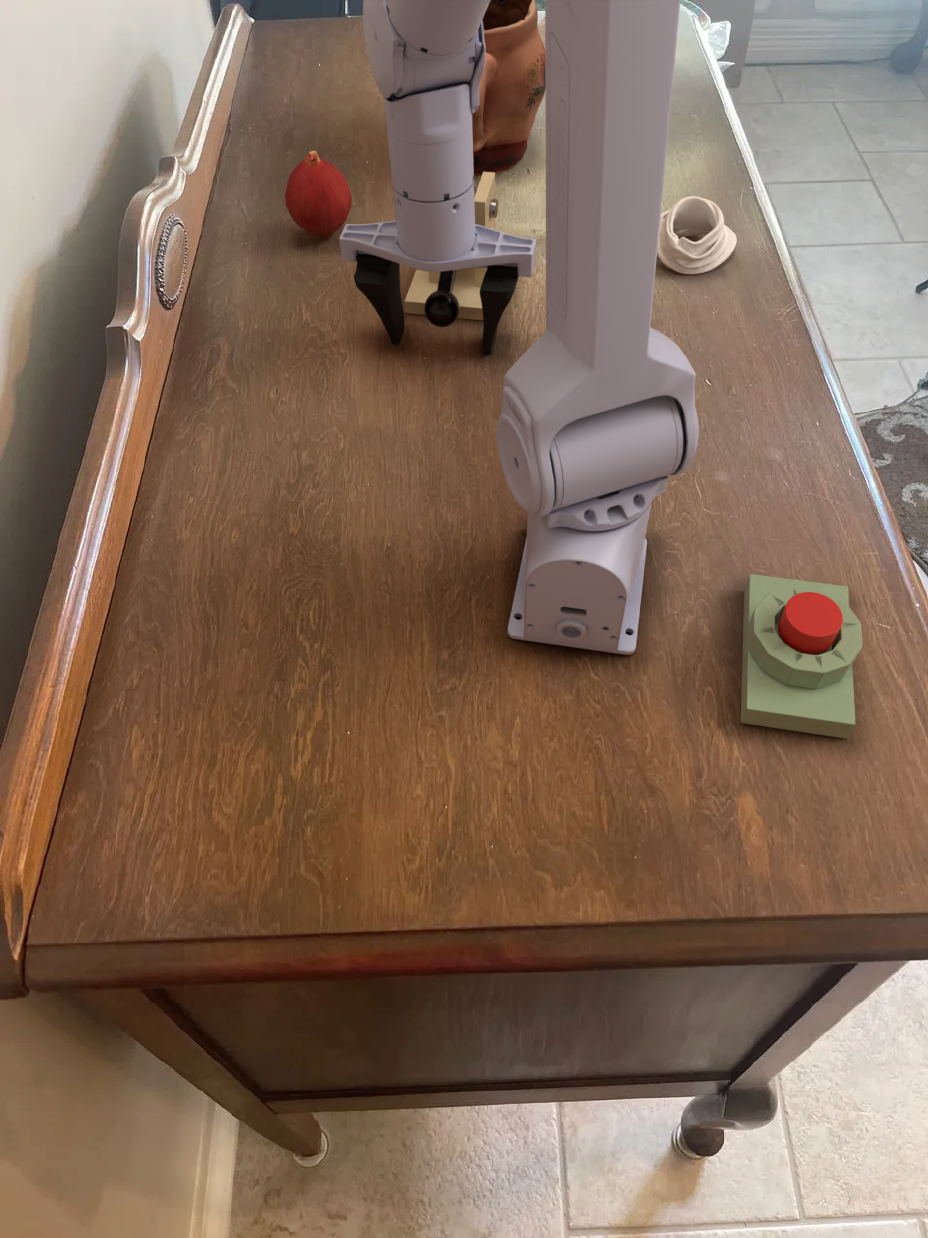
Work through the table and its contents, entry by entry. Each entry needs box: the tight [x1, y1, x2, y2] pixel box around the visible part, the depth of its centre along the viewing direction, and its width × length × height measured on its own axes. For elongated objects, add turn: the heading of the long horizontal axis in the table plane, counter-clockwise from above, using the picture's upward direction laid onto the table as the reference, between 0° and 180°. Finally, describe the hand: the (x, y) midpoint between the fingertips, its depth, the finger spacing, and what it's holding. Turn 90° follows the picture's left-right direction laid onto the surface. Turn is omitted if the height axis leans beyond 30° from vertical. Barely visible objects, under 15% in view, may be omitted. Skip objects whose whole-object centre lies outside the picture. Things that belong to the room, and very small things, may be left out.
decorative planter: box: [472, 0, 546, 175], centre depth 86 cm, size 20×12×14 cm, turn 3°
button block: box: [740, 573, 863, 740], centre depth 55 cm, size 10×6×4 cm, turn 169°
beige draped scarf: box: [657, 195, 738, 275], centre depth 80 cm, size 8×7×5 cm
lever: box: [424, 182, 477, 328], centre depth 74 cm, size 12×3×3 cm, turn 169°
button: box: [778, 592, 843, 654], centre depth 53 cm, size 3×3×2 cm
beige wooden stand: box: [403, 172, 499, 321], centre depth 76 cm, size 10×8×9 cm
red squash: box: [284, 150, 353, 240], centre depth 81 cm, size 6×6×8 cm
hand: (443, 341), depth 75 cm, fingers open, 7 cm apart
